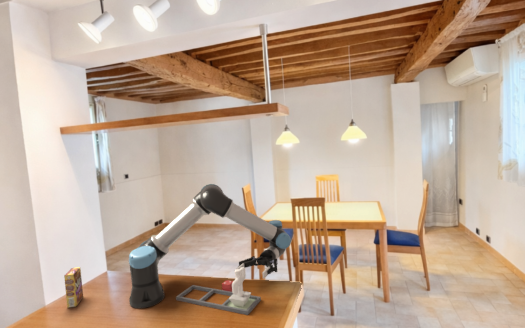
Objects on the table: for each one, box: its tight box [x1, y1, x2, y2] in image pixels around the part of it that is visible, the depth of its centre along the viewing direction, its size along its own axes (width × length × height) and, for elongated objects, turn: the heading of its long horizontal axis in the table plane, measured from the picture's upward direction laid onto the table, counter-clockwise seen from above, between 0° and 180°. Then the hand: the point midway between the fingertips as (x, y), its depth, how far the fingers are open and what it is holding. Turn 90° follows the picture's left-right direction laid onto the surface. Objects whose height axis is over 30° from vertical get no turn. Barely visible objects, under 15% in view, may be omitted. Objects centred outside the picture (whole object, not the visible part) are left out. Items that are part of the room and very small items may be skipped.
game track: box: [175, 284, 262, 316], centre depth 138 cm, size 37×12×2 cm, turn 64°
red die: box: [221, 279, 234, 292], centre depth 146 cm, size 4×4×4 cm
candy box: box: [63, 266, 84, 309], centre depth 145 cm, size 9×4×15 cm, turn 12°
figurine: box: [229, 267, 252, 307], centre depth 133 cm, size 7×9×15 cm
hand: (249, 273), depth 140 cm, fingers open, 13 cm apart
